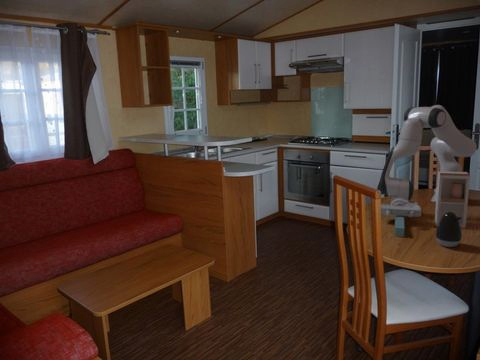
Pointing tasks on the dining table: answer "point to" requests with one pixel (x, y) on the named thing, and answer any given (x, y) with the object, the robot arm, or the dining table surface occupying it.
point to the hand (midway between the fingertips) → (399, 215)
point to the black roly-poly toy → (449, 230)
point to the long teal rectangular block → (399, 226)
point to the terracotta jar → (456, 190)
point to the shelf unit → (444, 196)
